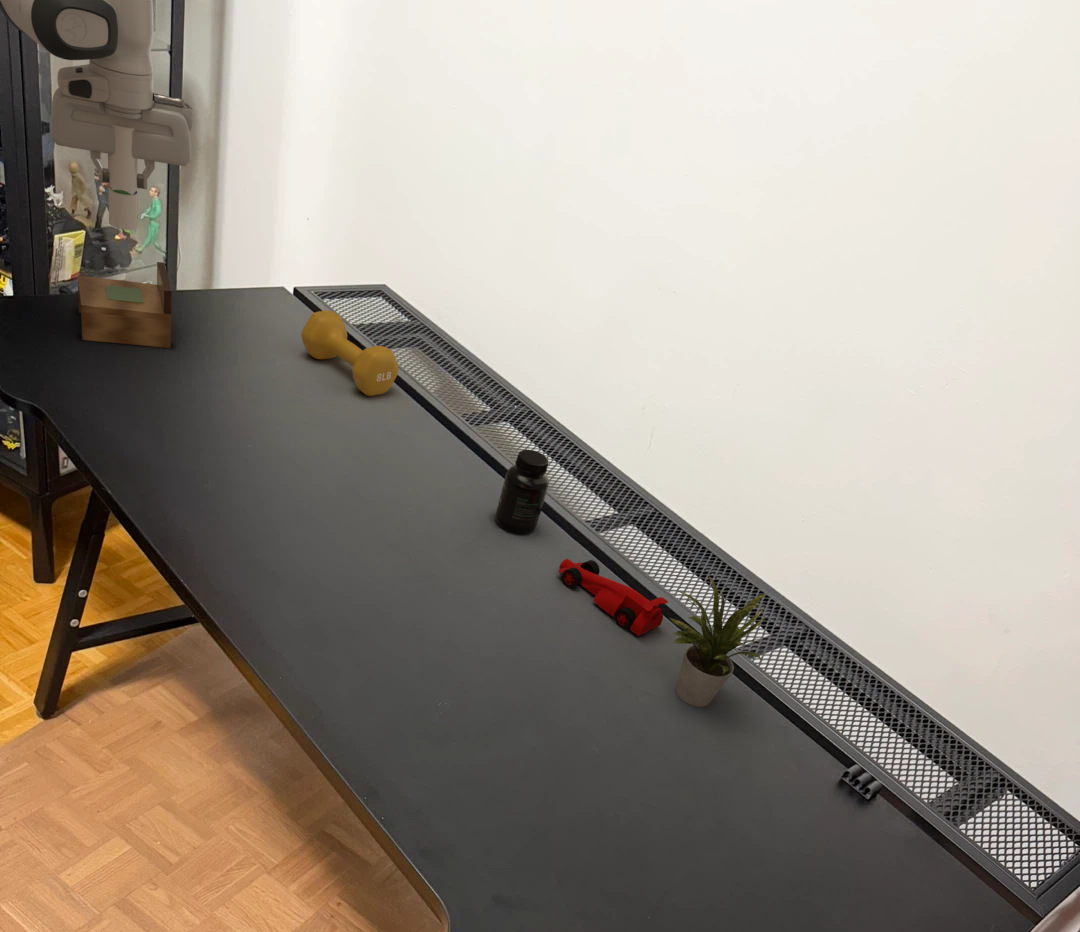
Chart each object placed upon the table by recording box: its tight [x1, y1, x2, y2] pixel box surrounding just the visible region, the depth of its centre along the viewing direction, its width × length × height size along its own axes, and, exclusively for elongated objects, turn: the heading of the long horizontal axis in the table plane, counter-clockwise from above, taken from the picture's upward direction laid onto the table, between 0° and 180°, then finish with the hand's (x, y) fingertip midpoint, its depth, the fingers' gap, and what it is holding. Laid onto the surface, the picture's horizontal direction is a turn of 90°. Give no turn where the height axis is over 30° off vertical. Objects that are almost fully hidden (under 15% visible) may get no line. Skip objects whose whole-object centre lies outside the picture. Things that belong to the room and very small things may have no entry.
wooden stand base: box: [77, 261, 173, 349], centre depth 174 cm, size 14×12×10 cm
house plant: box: [669, 576, 767, 708], centre depth 137 cm, size 14×14×16 cm
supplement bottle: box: [494, 449, 550, 536], centre depth 159 cm, size 7×7×12 cm
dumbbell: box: [300, 310, 399, 397], centre depth 184 cm, size 19×9×8 cm, turn 47°
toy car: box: [557, 558, 669, 637], centre depth 152 cm, size 6×18×5 cm, turn 47°
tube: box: [107, 125, 138, 231], centre depth 161 cm, size 4×4×15 cm
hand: (122, 184), depth 162 cm, fingers closed on tube, 4 cm apart
